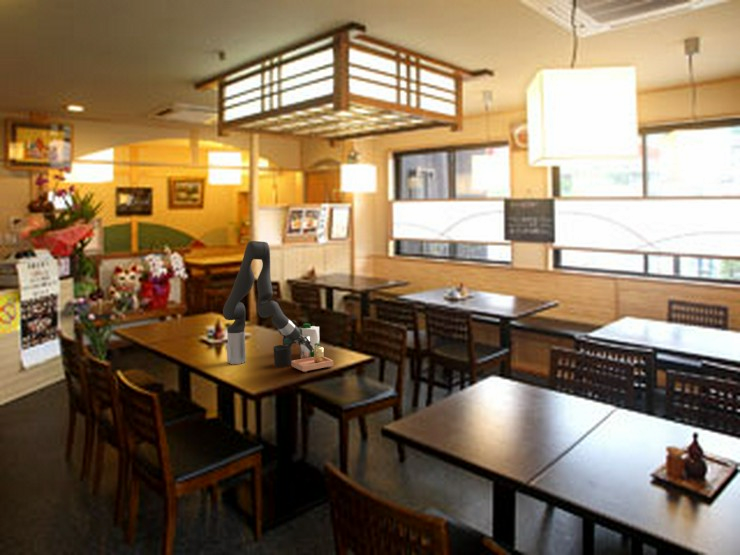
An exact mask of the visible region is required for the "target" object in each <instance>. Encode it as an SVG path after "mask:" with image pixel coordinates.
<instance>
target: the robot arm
mask: <svg viewBox="0 0 740 555" xmlns="http://www.w3.org/2000/svg"><path fill="white" fill-rule="evenodd" d="M253 260H261V262H262V267H261V269H260V272H259V275H258V276H257V278H256V279H257V280H256V287H257V294H258V296H257V304H256V305H257V306H256V308H257V309H256V310H257V314H258V316H259V317H260V318H262V319H267V318H269V317H271V323H272V324H273V325H274V327H276V328H277V330H278V331H279V330H280V331H279V333H280V332H281V333H282V334H283V335H284V336H285V337H287V338H288V339H289V340H292V341H293V342H294V343H293V344H295V345H296V344H297V345H298V346H300V344H302V345H304V346H306V347H307V348H308V349H309V350H312V348H313V347H312V346H311V345H310V343H311V342H310V341H309V340H308V339H307V337H303V336H302V335H301V334H300V330H299V328H300V327H299V326H297V325H296V323H295V322H294V321H292V320H291V319H290V318H288V317H287V316H286V315H285V314H284V312H283V310H282V309H281V307H280V305H279V303H278V302H277V301H275V300H270V299H271V298H272V297H273V296H274V292H273V285H272V284H273V283H272V279H271V249H270V244H269V243H268V242H267V241H258V240H250V241H248V243H247V244H246V247H245V250H244V253H243V256H242V262H241V265H240V267H239V270H238V273H237V275H236V278H235V280H234V283H233V286H232V288H231V292H230V294H229V295H228V297H227V300H226V301H225V304H224V306H223V308H222V316H223V319H225V320H227V321H233V322H232V323H231V324H230V325H228V327H227V328H226V330H227V345H226V360H227V363H228V364H229V363H230V365H231V364H232V365H241V363H242V364H245V363H246V362H247V360H246V359H247V358H246V357H247V356H246V355H247V354H246V337H245V336H246V334H245V332H246V331H245V328H246V307H245V305H244V303H243V302H242V301H241V300H242V299H243V298H245V297H246V296H247V295H248V294H249V293H250V291H251V290H252V288H253V285H254V283H255V273H254V272H253V269H252V262H253ZM298 327H299V328H298ZM284 336H283V337H284ZM302 341H303V342H302ZM304 343H305V344H304ZM244 362H245V363H244Z"/></svg>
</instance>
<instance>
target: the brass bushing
mask: <svg viewBox="0 0 740 555" xmlns="http://www.w3.org/2000/svg"><path fill="white" fill-rule="evenodd" d="M324 352H325V351H324V346H321V345H320V346H317V347H314V363H321V362H324V357H325V355H324Z"/></svg>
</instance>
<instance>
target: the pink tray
mask: <svg viewBox="0 0 740 555" xmlns="http://www.w3.org/2000/svg"><path fill="white" fill-rule="evenodd" d="M290 366H291V367H292V368H295V369H297V370H299V371H302V372H303V373H305V374H306V373H307V372H308V371H313V370H319V369H322V368H328V369H331V367H333V366H335V365H334V359H331V358H328V357H326V356H324V362H321V363H314V357H310V358H307V359H302V358H300V359H294V360H291V365H290Z"/></svg>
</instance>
